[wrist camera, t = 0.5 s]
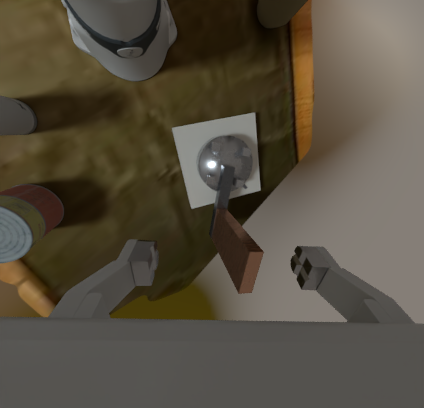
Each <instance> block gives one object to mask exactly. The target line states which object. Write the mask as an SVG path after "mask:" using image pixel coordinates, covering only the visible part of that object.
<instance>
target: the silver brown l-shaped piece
mask: <svg viewBox="0 0 424 408" xmlns="http://www.w3.org/2000/svg"><path fill="white" fill-rule="evenodd" d="M196 165H197V171H198V174H199V176H200V177H201V179H202V180H203V181H204V182H205V184H206V185H207V186H208V187H210V188H211V189H213V190H215V191H217V194H216V199H215V205H214V210H213V216H212V221H211V227H210V232H209V235H210V237H211V238H212V240H213V242H214V244H215V246H216V248H217V250H218V252H219V254H220V256H221V259H222V260H223V263H224V265H225V267H226V268H227V271H228V273H229V275H230V277H231V279H232V281H233V283H234V285H235V287H236V289H237V291H238V293H239V294H242V293H252V290H253V287H254V283H255V280H256V277H257V273H258V270H259V267H260V263H261V260H262V257H263V253H264V252H263V250H262V249H261V248H260V247H259V246H258V245H257V244H256V242H255V241H254V240H253V239H252V238H251V237H250V236H249V234H248V233H247V232H246V231H245V230H244V229H243V228H242V226H241V225H240V224H239V223H238V222H237V221H236V219H235V218H234V217H233V216H232V215H231V214H230V213H229V211H228V210H227V206H228V201H229V196H230V192H231V191H234V190H236V189H238V188H239V187H240V188H243V184H244V183H245V182H246V181H247V179H248V178H249V176H250V174H251V171H252V166H253V158H252V154H251V149H250V148H249V147H248V146H247V144H246V143H245V142H244V141H243V140H241V139H239V138H237V137H234V136H225V135H221V136H216V137H213V138H211V139H209V140H208V141H207V142H205V143H204V145H203V146H202V147H201V149H200V151H199V153H198V156H197V162H196Z"/></svg>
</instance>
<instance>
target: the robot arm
mask: <svg viewBox="0 0 424 408" xmlns="http://www.w3.org/2000/svg"><path fill="white" fill-rule="evenodd" d="M61 1H62V3H63V5H64V7H65V8H67V12H68V17H69V22H70V27H71V32H72V37H73V41H74V43H75V44H76V46H77V47H78V48H79V49H81V50H82V51H84V52H85V53H87V54H89V55H91V56H93V57H95V58H96V59H97V60H98V61H99V62H100V63H101V64H102V65H103V66H104V67H105V68H106V69H107V70H109V71H110V72H111V73H113V74H114V75H116V76H118V77H120V78H123V79H126V80H130V81H141V80H145V79H148V78H150V77H152V76H153V75H155V74H156V73H157V72H158V71H159V69H160V68H161V66H162V65H163V63H164V60H165V57H166V54H167V51H168V48H169V47H170V46H171V45H172V44H173V43H174V41H175V40H176V38H177V29H176V26H175V23H174V20H173V17H172V14H171V11H170V9H169V6H168V3H167V0H61ZM170 25H171V26H170ZM156 249H157V241H152V240H133V239H129V240H128V241H127V242H126V244H125V246H124V248H123V250H122V251H121V253H120V255H119V257H118V259H117V260H116V261H113V262H111V263H109V264H108V265H106V266H105V267H103V268H102V269H100V270H99V271H97V272H96V273H94V274H93V275H91V276H90V277H88V278H87V279H85V280H83V281H82V282H80V283H79V284H77V285H76V286H74V287H73V288H71V289H70V290H68V291H67V292H66V293H65V295H64V296H63V298H62V299H61V300H60V302H59V303H58V304H57V306H56V307H55V309H54V310H53V311H52V313H51V314H50V315H49V317H0V408H424V324H415V323H414V322H413V321H412V320H411V318H410V317H409V316H408V315H407V314H406V313H405V312H404V311H403V310H402V308H401V307H400V306H399V305H398V304H397V303H396V302H395V301H394V300H393V299H392V298H390V297H389V296H387V295H385V294H384V293H382V292H380V291H379V290H377V289H376V288H374V287H373V286H371V285H369V284H368V283H366V282H364V281H363V280H361V279H360V278H358V277H357V276H355V275H353V274H352V273H350V272H348V271H347V270H345V269H343V268H342V269H341V268H340V267H339V265H338V264H337V263H336V261H335V260H334V259H333V257H332V256H331V255H330V254H329V252H328V251H327V250H326V249H325V248H324V247H308V246H297V247H296V249H295V253H296V254H295V255H294V256H292V259H291V268H292V271H293V273H294V274H296V275H297V281H298V283H299V285H300V287H301V289H302V290H317V292H318V293H319V294H320V295H321V296H322V297H323V298H324V299H325V300H326V301H327V302H328V303H330V304H331V305H332V306H333V307H334V308H335V309H336V310H337V311H338V312H339V313H340V314H341V315H342V316H343V317H344V318H346V319H347V320H348V321H347V322H289V321H288V322H287V321H283V322H282V321H228V320H227V321H226V320H225V321H224V320H168V319H167V320H166V319H165V320H163V319H111V318H110V315H109V312H110V311H111V310H112V309H113V308H114V307H115V306H116V305H117V304H118V303H119V302H120V301H121V300H122V299H123V298H124V297H125V296H126V295H127V294H128V293H129V292H130V291H131V290H132V289H133V288H134V287H135V286H151V285H152V281H153V278H154V270H155V269H156V268H157V264H158V251H157V250H156Z"/></svg>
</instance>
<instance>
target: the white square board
mask: <svg viewBox="0 0 424 408" xmlns="http://www.w3.org/2000/svg"><path fill="white" fill-rule="evenodd" d="M172 131H173V135H174V140H175V144H176V148H177V152H178V156H179V160H180V164H181V169H182V173H183V177H184V181H185V185H186V189H187V194H188V198H189V202H190V206H191V208H192V209H193V208H197V207H200V206H204V205H208V204H212V203H215V199H216V194H217V191H215V190H213V189H211V188H210V187H208V186H207V185H206V184H205V182H204V181H203V180H202V179H201V177H200V176H199V174H198V171H197V165H196V162H197V156H198V153H199V151H200V149H201V147H202V146H203V145H204V143H205V142H207V141H208V140H209V139H211V138H213V137H216V136H221V135H225V136H234V137H237V138H239V139H241V140H243V141H244V142H245V143H246V144H247V146H248V147H249V148H250V149H251V154H252V158H253V166H252V171H251V174H250V176H249V178H248V179H247V181H246V182H245V183H244V184H243V188H240V187H239V188H238V189H236V190H234V191H231V192H230V196H229V199H230V198H234V197H238V196H242V195H245V194H249V193H253V192H257V191H260V190H261V188H260V175H259V161H258V147H257V133H256V119H255V113H250V114H244V115H239V116H234V117H228V118H223V119H218V120H212V121H207V122H201V123H196V124H191V125H185V126H180V127H175V128H172Z"/></svg>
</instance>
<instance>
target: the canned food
mask: <svg viewBox="0 0 424 408" xmlns="http://www.w3.org/2000/svg"><path fill="white" fill-rule="evenodd" d="M63 216H64V207H63V204H62V202H61V200H60V199H59V198H58V197H57V196H56V195H55V194H54V193H53V192H52V191H50V190H48V189H46V188H44V187H42V186H38V185H33V184H21V185H17V186H14V187H12V188H10V189H7V190H5V191H2V192H0V263H6V262H11V261H14V260H17V259H19V258H21V257H22V256H24V255H25V254H26V253H27V252H28V251H29V250H30V249H31V248H32V247H33V246H34V245H35V244H36V243H37V242H38V241H40V240H41V239H42V238H43V237H44V236H45V235H46V234H47V233H48V232H50V231H51V230H52V229H53V228H54V227H56V226H57V225H58V224H59V223H60V222H61V221H62V219H63Z"/></svg>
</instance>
